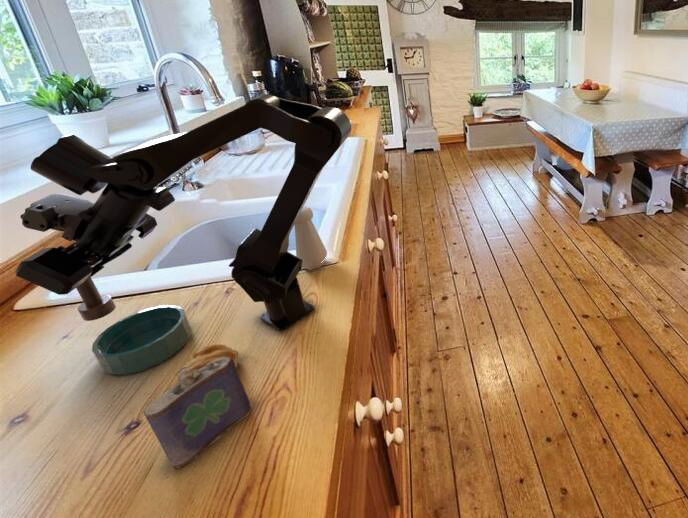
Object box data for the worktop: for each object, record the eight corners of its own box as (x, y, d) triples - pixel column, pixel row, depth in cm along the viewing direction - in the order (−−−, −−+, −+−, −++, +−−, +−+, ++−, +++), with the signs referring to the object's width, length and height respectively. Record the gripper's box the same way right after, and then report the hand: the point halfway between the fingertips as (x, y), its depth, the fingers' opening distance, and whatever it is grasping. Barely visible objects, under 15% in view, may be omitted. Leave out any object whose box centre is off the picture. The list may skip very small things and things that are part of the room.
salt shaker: (334, 257, 88) (321, 202, 83) (320, 272, 83) (305, 215, 78) (308, 256, 89) (293, 202, 84) (293, 271, 84) (276, 215, 78)
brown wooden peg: (119, 309, 67) (93, 258, 63) (87, 324, 64) (57, 271, 60) (110, 301, 69) (84, 251, 65) (79, 315, 66) (49, 263, 62)
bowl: (205, 338, 67) (197, 319, 65) (119, 389, 58) (107, 368, 57) (175, 315, 72) (167, 297, 71) (92, 358, 64) (80, 338, 62)
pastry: (233, 401, 56) (224, 381, 54) (173, 422, 53) (162, 402, 51) (241, 354, 63) (233, 335, 62) (189, 370, 61) (180, 351, 59)
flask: (178, 472, 47) (142, 407, 43) (165, 461, 48) (129, 396, 44) (256, 409, 54) (232, 347, 50) (243, 400, 56) (218, 339, 51)
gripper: (108, 157, 67) (65, 223, 70) (-8, 207, 50) (-58, 291, 53) (178, 197, 70) (134, 258, 74) (91, 255, 53) (39, 331, 57)
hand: (71, 280), depth 64 cm, fingers closed on brown wooden peg, 2 cm apart
